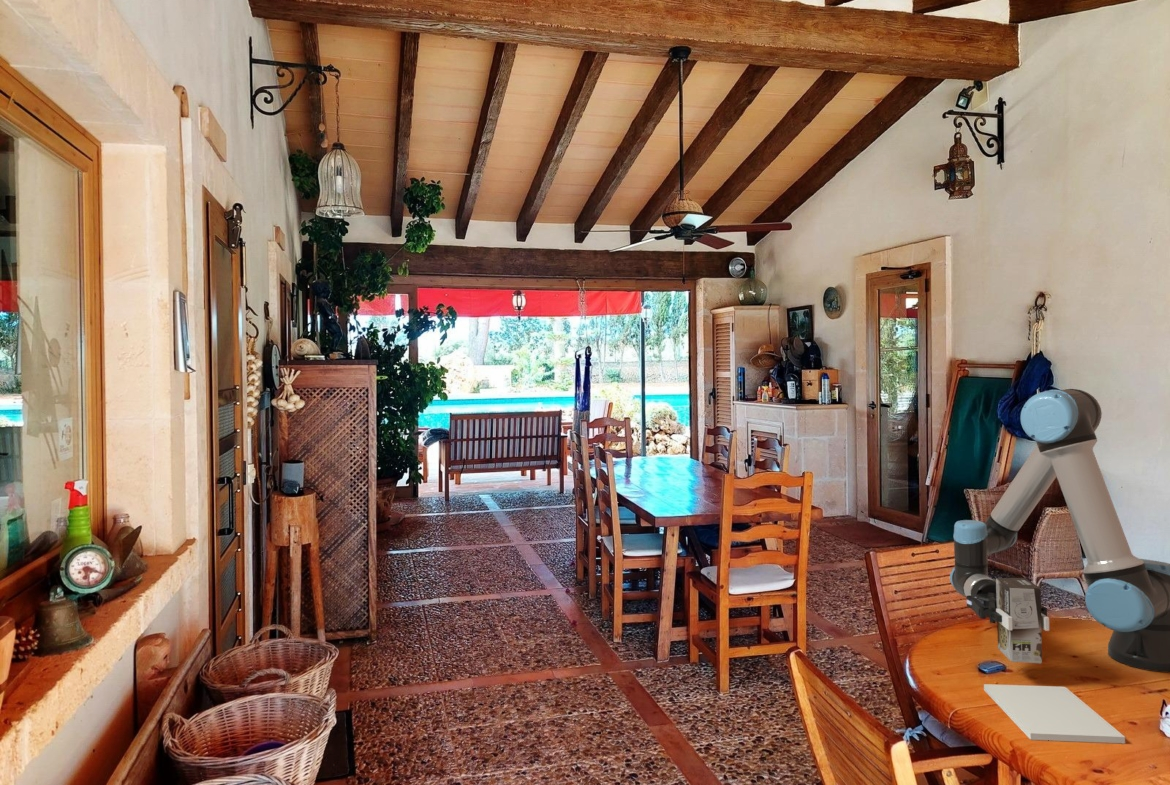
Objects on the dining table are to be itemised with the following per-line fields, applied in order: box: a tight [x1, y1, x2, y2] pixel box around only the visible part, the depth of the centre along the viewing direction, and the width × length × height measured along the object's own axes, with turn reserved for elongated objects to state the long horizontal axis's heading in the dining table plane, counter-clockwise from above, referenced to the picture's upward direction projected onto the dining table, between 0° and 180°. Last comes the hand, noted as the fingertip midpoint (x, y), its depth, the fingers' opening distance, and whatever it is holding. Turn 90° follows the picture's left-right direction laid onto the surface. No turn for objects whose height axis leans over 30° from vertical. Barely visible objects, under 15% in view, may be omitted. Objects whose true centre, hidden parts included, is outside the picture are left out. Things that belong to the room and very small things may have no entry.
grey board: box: [983, 683, 1126, 745], centre depth 150 cm, size 16×22×1 cm
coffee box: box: [995, 577, 1043, 664], centre depth 168 cm, size 9×6×16 cm
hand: (1028, 624), depth 163 cm, fingers closed on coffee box, 7 cm apart
